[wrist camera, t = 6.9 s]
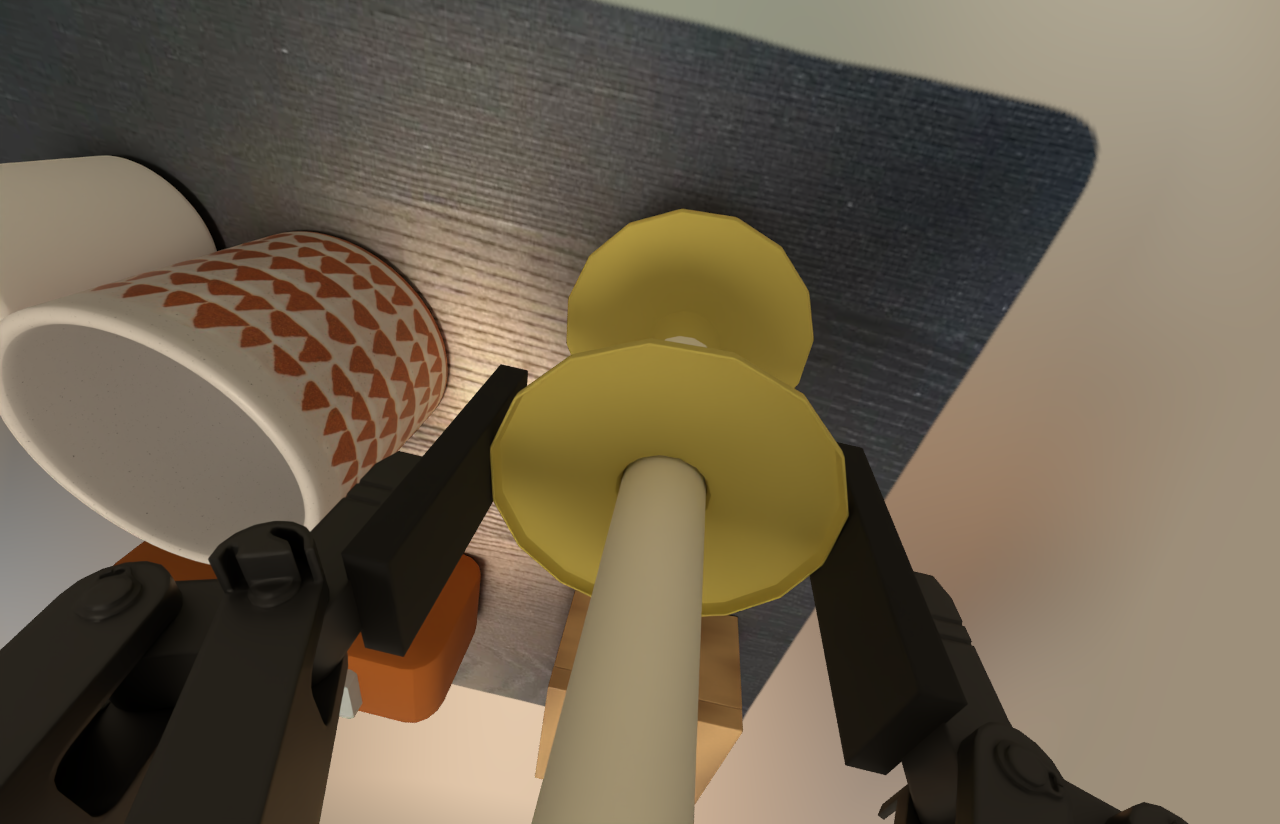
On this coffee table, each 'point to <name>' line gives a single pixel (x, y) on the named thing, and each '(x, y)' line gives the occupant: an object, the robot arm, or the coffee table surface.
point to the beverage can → (88, 227)
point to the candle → (665, 492)
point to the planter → (223, 387)
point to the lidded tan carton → (714, 700)
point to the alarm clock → (378, 676)
